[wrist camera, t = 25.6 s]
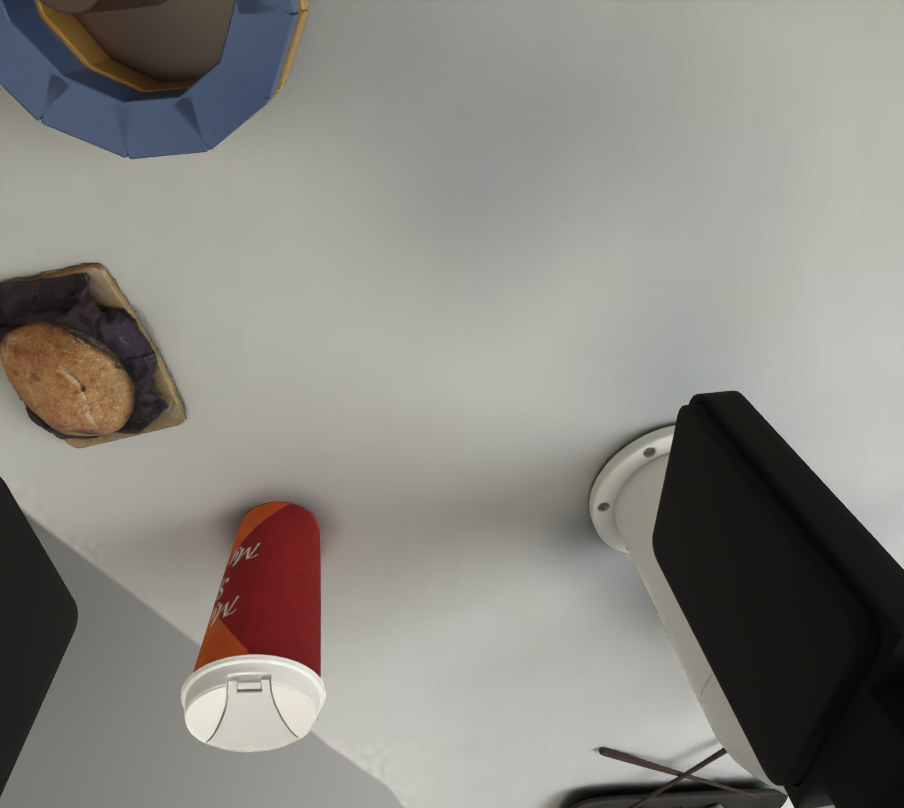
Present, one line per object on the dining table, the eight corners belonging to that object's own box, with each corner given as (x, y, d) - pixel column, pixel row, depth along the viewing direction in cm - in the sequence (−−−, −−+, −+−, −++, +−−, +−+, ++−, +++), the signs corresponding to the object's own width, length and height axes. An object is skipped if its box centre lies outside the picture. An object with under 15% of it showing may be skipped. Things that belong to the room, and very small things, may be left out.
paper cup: (220, 488, 42) (166, 680, 30) (336, 491, 43) (326, 676, 32) (228, 567, 46) (182, 762, 35) (333, 567, 47) (323, 755, 36)
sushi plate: (540, 840, 80) (547, 875, 77) (609, 710, 64) (621, 747, 61) (741, 827, 85) (755, 859, 82) (851, 704, 69) (874, 738, 66)
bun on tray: (198, 415, 39) (185, 452, 36) (66, 445, 39) (42, 485, 36) (113, 255, 32) (88, 284, 29) (-43, 291, 32) (-84, 323, 29)
